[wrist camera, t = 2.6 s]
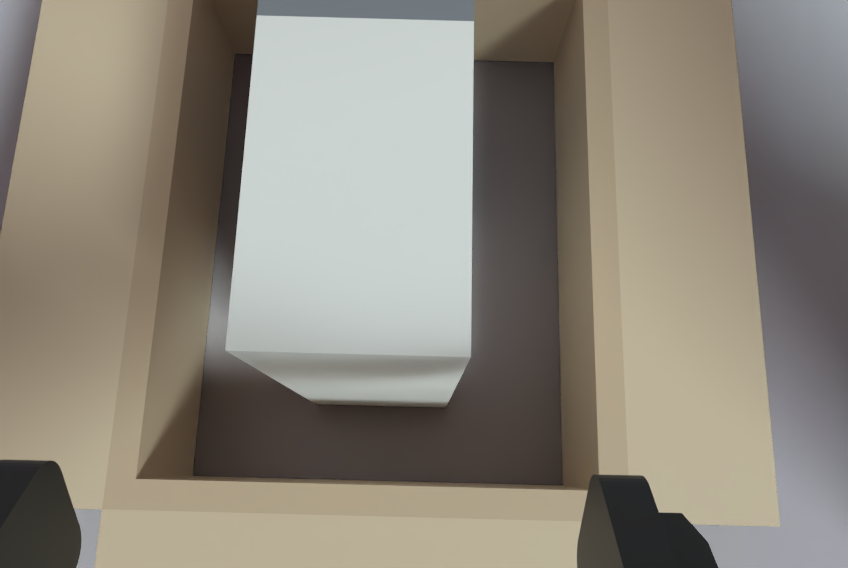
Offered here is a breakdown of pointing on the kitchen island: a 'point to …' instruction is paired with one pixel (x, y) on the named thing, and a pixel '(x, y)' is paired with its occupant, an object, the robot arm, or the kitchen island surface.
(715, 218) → the carton
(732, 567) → the kitchen island surface
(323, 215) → the box
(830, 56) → the kitchen island surface
